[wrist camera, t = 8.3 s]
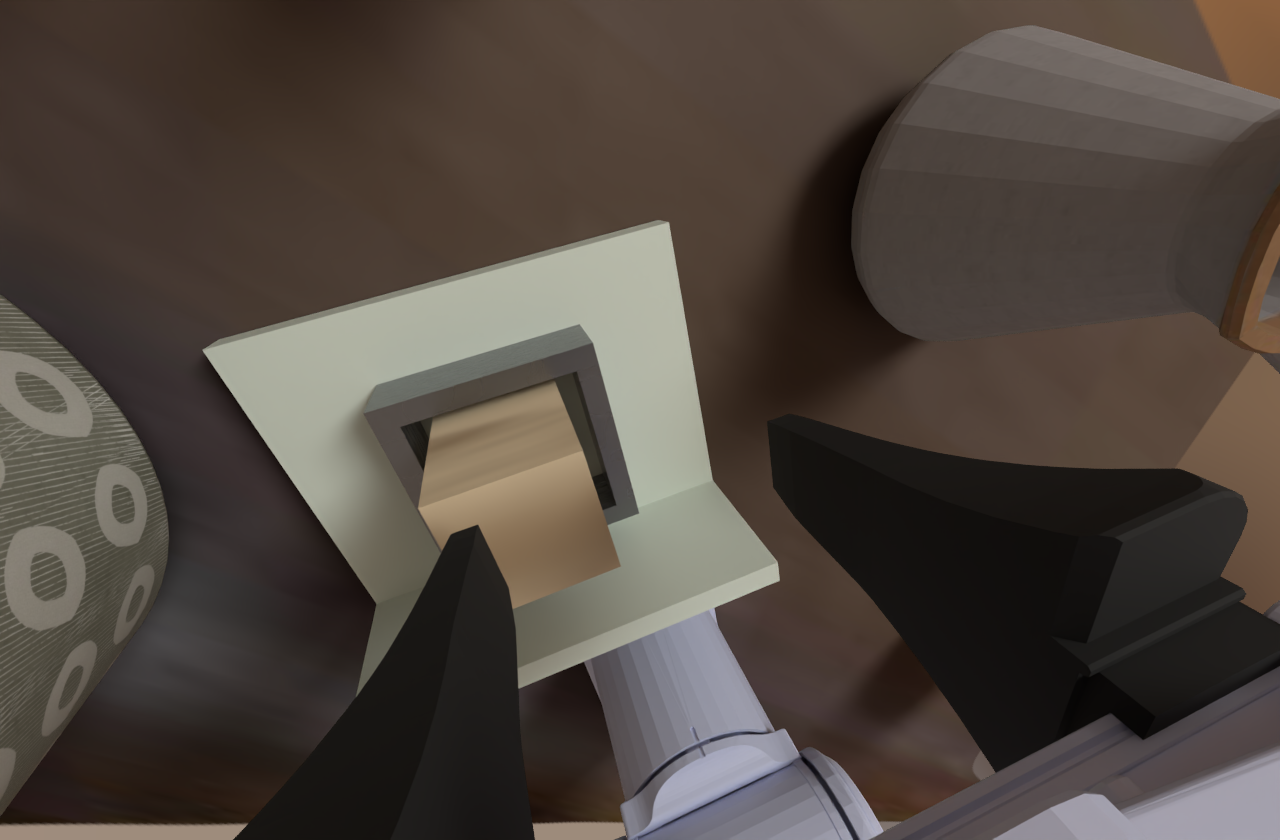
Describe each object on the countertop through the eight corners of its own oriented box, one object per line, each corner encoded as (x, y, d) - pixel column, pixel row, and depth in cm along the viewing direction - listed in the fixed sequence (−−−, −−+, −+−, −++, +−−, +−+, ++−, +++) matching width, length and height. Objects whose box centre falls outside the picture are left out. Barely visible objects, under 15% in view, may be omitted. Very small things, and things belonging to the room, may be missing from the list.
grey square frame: (631, 510, 24) (647, 543, 21) (472, 568, 22) (472, 610, 20) (579, 324, 19) (593, 342, 17) (376, 385, 18) (363, 413, 16)
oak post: (579, 457, 21) (620, 566, 15) (479, 492, 21) (481, 621, 15) (548, 365, 19) (582, 450, 13) (435, 401, 19) (417, 508, 13)
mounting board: (705, 483, 26) (779, 580, 20) (390, 599, 23) (361, 753, 17) (658, 220, 19) (745, 240, 13) (218, 339, 17) (71, 434, 11)
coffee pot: (767, 211, 21) (1260, 271, 8) (974, -33, 19) (2050, -483, 6) (966, 458, 31) (1318, 658, 18) (1111, 313, 29) (1613, 422, 16)
